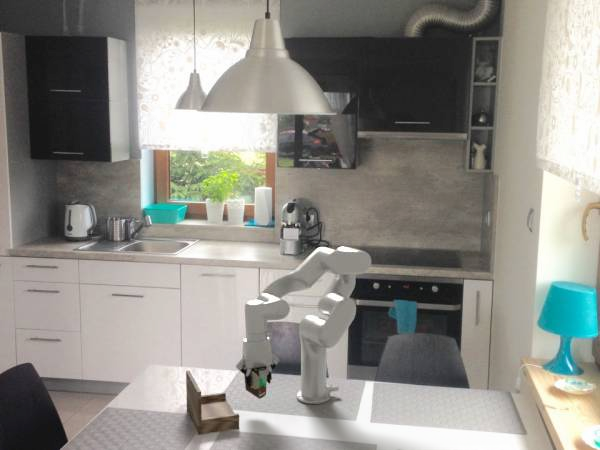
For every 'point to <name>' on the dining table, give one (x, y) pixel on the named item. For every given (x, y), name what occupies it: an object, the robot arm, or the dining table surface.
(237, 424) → the low wooden shelf
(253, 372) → the food container
